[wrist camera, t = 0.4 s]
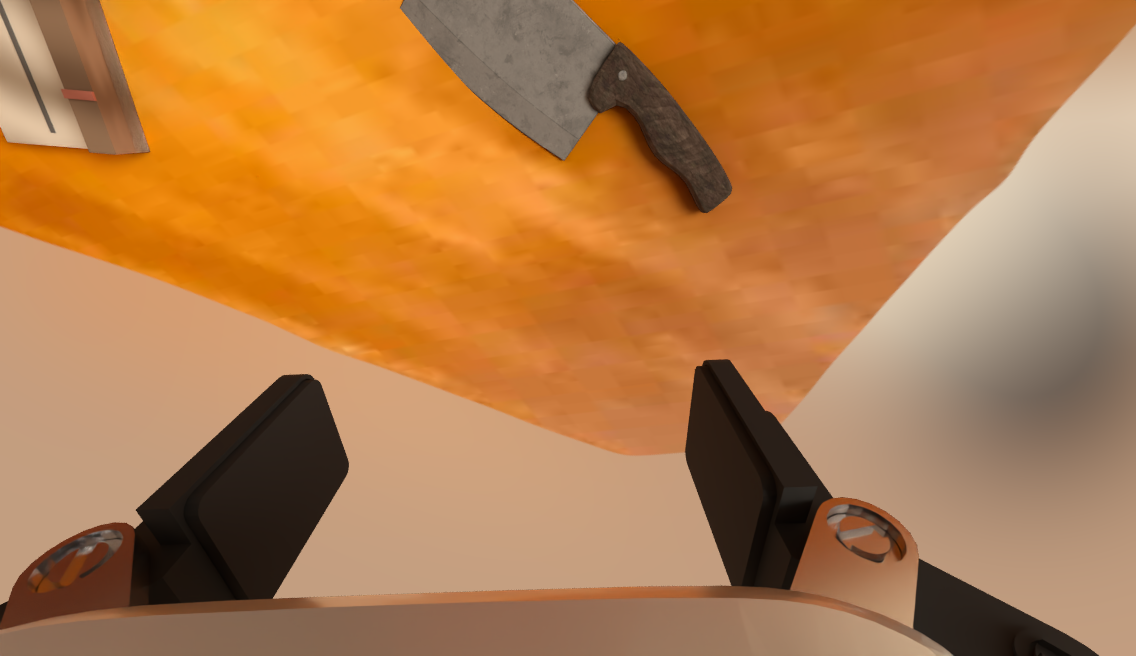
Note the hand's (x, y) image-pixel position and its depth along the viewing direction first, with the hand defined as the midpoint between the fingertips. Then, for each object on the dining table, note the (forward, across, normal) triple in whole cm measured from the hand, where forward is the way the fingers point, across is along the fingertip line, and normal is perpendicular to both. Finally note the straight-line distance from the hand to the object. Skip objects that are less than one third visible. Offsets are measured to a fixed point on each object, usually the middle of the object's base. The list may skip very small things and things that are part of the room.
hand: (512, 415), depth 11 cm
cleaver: (+31, -3, -8) cm, 32 cm away
